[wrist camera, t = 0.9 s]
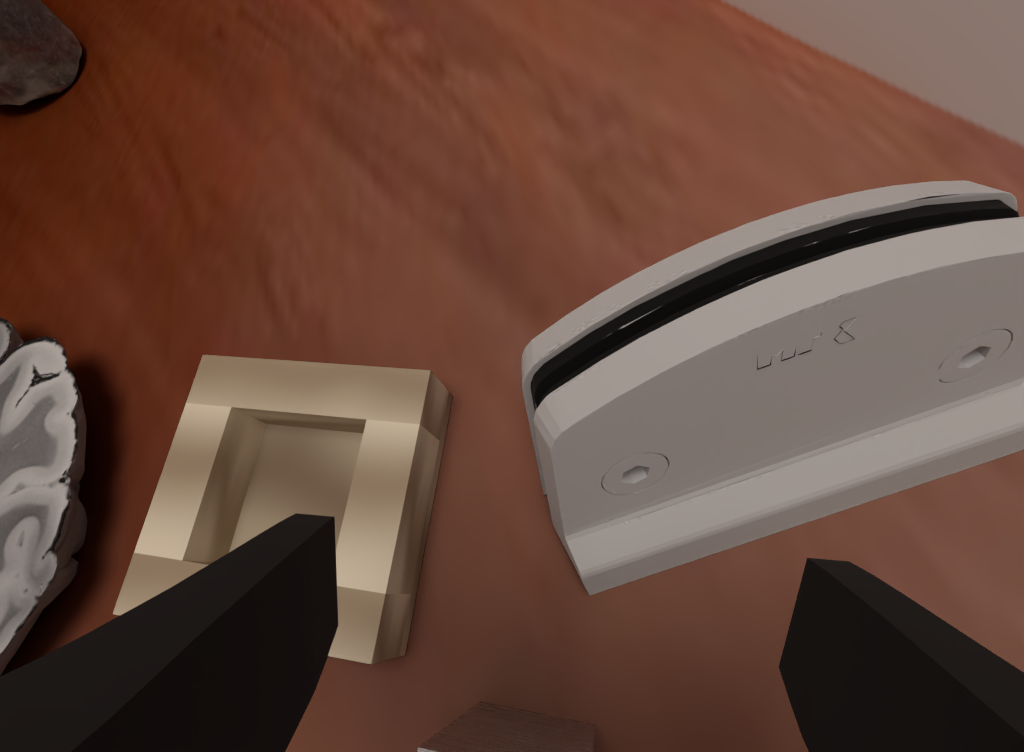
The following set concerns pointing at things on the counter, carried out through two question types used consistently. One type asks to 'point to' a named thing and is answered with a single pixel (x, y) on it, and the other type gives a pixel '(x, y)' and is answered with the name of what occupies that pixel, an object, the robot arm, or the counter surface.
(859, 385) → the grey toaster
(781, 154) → the counter surface
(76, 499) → the brain slice
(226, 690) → the robot arm
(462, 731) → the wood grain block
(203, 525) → the well block
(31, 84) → the brown tall cylinder
